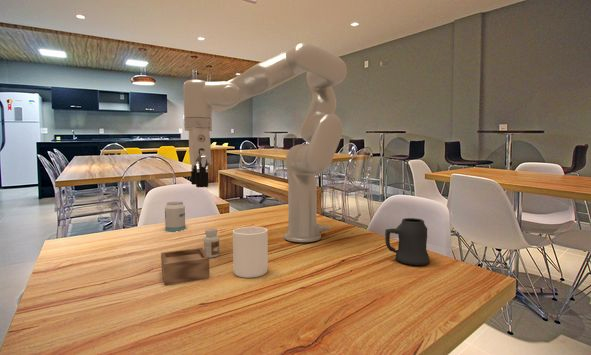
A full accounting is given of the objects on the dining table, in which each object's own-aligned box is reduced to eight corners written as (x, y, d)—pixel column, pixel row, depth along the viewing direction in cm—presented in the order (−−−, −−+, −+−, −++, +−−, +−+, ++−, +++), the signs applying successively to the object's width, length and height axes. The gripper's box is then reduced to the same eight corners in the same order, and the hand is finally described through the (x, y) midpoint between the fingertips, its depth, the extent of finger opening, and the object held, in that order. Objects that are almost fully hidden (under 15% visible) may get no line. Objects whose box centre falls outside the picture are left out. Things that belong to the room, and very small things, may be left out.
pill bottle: (215, 258, 95) (214, 231, 94) (201, 257, 96) (200, 231, 95) (221, 254, 99) (221, 228, 99) (208, 253, 100) (207, 227, 100)
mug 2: (422, 254, 98) (423, 217, 97) (435, 264, 89) (436, 223, 88) (381, 254, 98) (382, 216, 97) (389, 264, 89) (390, 223, 88)
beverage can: (181, 237, 120) (180, 204, 119) (162, 237, 120) (161, 204, 119) (188, 232, 127) (187, 201, 126) (170, 232, 127) (169, 201, 126)
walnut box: (202, 267, 89) (201, 247, 88) (209, 279, 80) (209, 258, 79) (161, 272, 84) (161, 252, 84) (164, 286, 75) (163, 264, 75)
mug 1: (273, 263, 91) (273, 224, 90) (263, 279, 79) (263, 234, 78) (242, 262, 92) (242, 223, 91) (228, 277, 80) (227, 233, 79)
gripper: (217, 123, 88) (218, 187, 89) (206, 128, 104) (207, 183, 105) (188, 122, 85) (189, 189, 86) (181, 127, 101) (182, 183, 102)
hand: (199, 185), depth 95 cm, fingers open, 9 cm apart
